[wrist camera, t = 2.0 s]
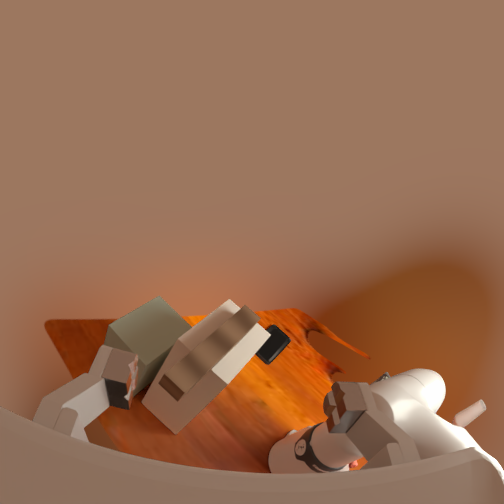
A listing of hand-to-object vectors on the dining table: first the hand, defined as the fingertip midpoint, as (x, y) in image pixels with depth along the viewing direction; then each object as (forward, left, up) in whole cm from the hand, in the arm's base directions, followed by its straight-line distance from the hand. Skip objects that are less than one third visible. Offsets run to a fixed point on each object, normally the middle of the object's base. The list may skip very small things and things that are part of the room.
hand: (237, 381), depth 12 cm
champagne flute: (-107, -28, -53) cm, 123 cm away
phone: (-34, -53, -54) cm, 83 cm away
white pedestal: (-10, -27, -53) cm, 60 cm away
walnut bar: (-8, -22, -27) cm, 36 cm away
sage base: (+1, -31, -53) cm, 62 cm away
